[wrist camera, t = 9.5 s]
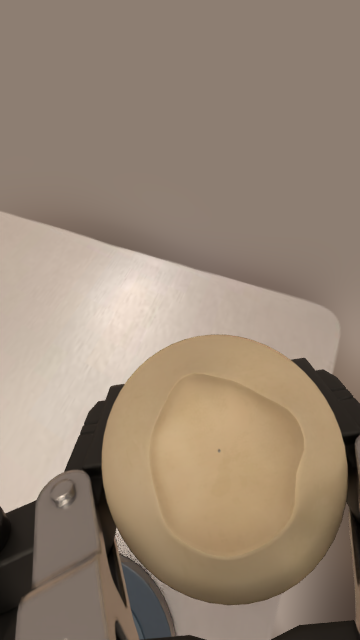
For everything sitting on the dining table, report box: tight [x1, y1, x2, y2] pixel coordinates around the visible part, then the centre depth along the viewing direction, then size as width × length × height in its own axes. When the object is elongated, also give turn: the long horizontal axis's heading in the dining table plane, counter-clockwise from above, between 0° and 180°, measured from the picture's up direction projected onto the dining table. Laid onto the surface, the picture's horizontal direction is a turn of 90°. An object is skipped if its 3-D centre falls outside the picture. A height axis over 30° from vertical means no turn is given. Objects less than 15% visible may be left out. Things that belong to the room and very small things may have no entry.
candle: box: [102, 335, 348, 605], centre depth 10 cm, size 6×6×10 cm
